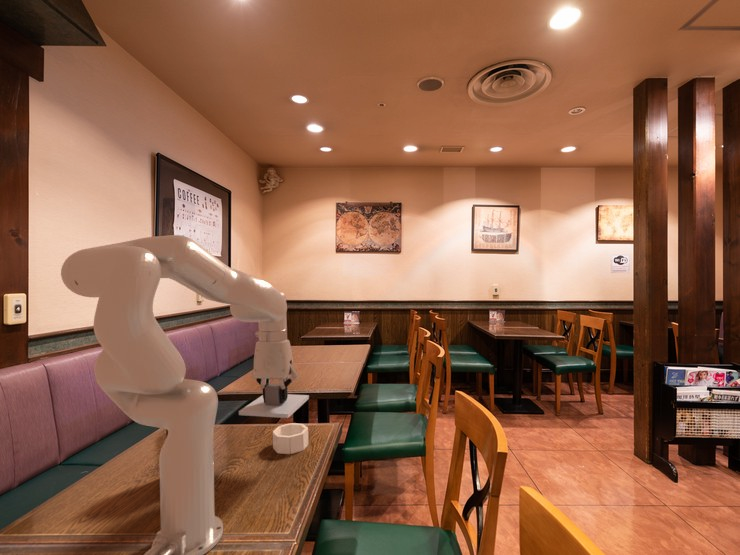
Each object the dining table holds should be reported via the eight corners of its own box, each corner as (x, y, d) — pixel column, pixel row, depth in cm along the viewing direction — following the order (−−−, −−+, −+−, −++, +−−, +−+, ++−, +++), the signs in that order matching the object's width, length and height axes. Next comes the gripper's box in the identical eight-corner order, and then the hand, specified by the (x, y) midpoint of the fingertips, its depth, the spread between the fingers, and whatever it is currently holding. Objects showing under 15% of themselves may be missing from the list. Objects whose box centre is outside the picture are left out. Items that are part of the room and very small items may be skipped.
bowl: (299, 455, 104) (299, 438, 104) (268, 452, 106) (267, 435, 106) (312, 439, 114) (311, 424, 114) (283, 437, 116) (282, 422, 116)
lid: (287, 418, 90) (287, 394, 90) (238, 415, 93) (238, 392, 93) (308, 398, 104) (308, 378, 104) (265, 396, 107) (264, 376, 107)
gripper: (238, 338, 97) (240, 405, 97) (295, 339, 93) (297, 408, 93) (253, 333, 104) (255, 395, 104) (306, 334, 100) (308, 398, 101)
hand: (275, 400), depth 99 cm, fingers closed on lid, 4 cm apart
